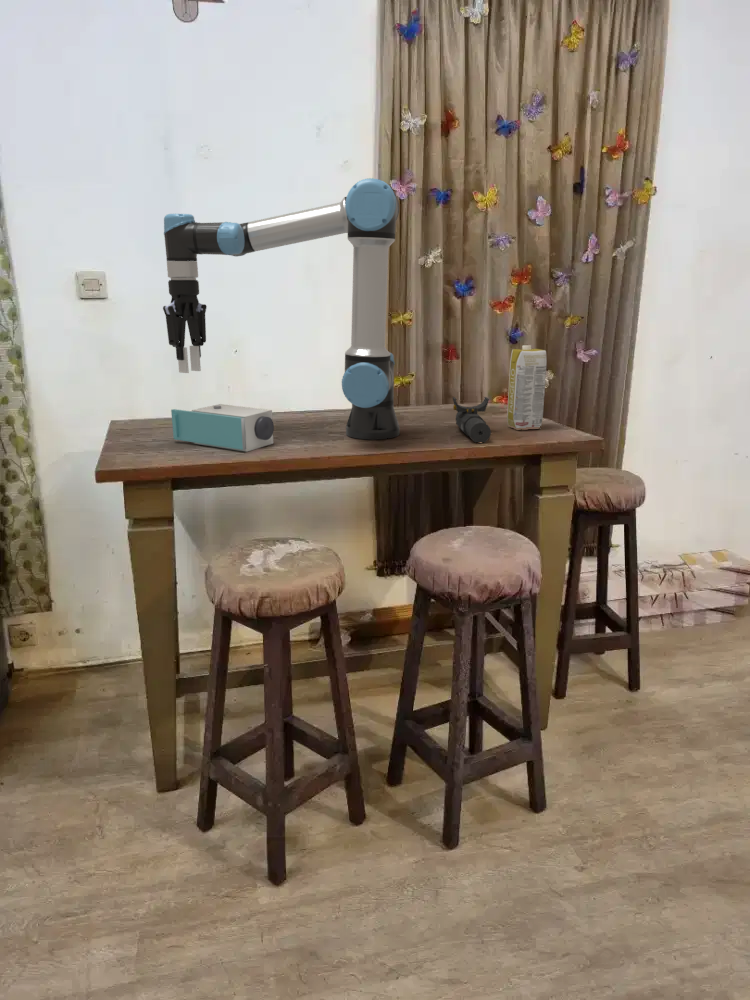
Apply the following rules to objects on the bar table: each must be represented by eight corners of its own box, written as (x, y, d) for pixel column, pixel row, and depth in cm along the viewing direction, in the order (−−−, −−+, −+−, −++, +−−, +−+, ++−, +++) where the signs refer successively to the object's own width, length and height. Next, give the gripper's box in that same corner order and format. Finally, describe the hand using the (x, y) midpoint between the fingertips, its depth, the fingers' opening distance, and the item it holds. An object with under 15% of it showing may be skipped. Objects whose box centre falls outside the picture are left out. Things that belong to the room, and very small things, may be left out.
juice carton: (532, 424, 218) (537, 343, 211) (544, 430, 211) (550, 346, 204) (503, 426, 216) (508, 344, 209) (515, 431, 209) (520, 347, 202)
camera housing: (278, 444, 193) (276, 408, 191) (251, 452, 184) (249, 415, 181) (222, 436, 203) (219, 401, 200) (193, 443, 194) (191, 407, 191)
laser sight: (462, 444, 194) (463, 407, 191) (447, 427, 216) (449, 394, 213) (497, 444, 195) (499, 407, 192) (480, 427, 216) (481, 393, 213)
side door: (246, 449, 184) (245, 418, 182) (242, 450, 183) (240, 419, 180) (176, 438, 196) (173, 409, 194) (171, 439, 195) (168, 410, 192)
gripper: (195, 278, 194) (201, 367, 201) (147, 279, 180) (155, 374, 187) (217, 278, 190) (222, 369, 197) (169, 279, 176) (177, 376, 183)
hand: (190, 371), depth 192 cm, fingers open, 4 cm apart
